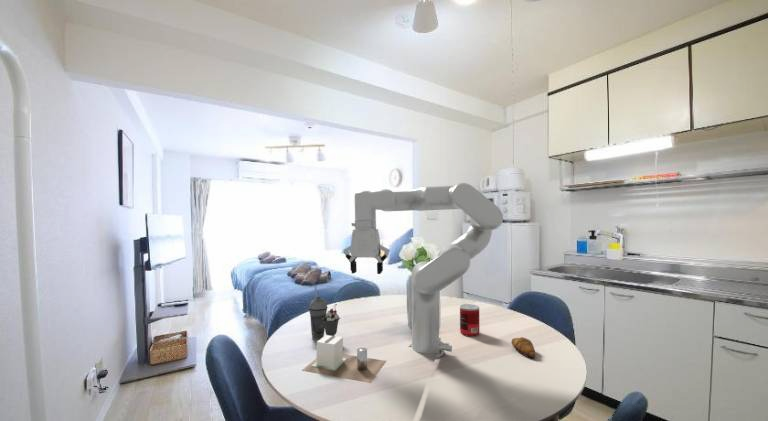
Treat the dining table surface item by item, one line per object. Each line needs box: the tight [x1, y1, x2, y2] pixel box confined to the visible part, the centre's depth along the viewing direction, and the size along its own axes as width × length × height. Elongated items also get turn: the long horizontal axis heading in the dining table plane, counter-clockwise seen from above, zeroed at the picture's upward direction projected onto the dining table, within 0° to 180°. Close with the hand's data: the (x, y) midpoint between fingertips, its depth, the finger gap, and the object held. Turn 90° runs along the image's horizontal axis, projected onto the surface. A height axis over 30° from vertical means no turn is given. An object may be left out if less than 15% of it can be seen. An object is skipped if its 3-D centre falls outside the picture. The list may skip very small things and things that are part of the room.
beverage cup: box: [308, 286, 328, 341], centre depth 121 cm, size 7×7×20 cm
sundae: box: [322, 303, 341, 336], centre depth 112 cm, size 7×7×15 cm
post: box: [356, 347, 368, 371], centre depth 92 cm, size 3×3×6 cm
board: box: [301, 353, 387, 384], centre depth 94 cm, size 22×14×2 cm, turn 72°
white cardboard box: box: [315, 334, 344, 368], centre depth 95 cm, size 6×6×7 cm
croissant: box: [511, 337, 536, 359], centre depth 108 cm, size 14×7×5 cm, turn 4°
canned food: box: [459, 303, 480, 337], centre depth 126 cm, size 8×8×11 cm
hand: (366, 273), depth 109 cm, fingers open, 9 cm apart
